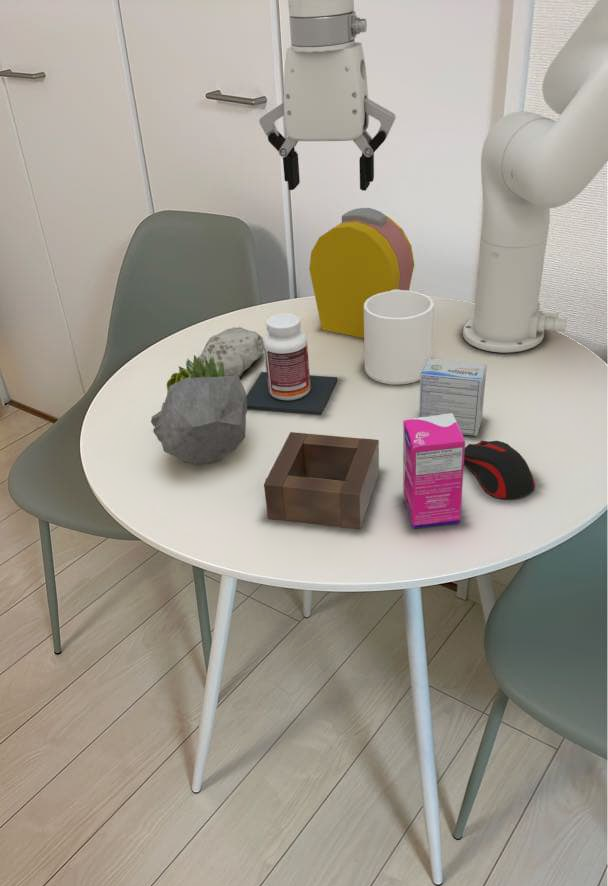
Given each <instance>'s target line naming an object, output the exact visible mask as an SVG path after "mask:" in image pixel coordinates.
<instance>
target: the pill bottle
mask: <svg viewBox="0 0 608 886" xmlns="http://www.w3.org/2000/svg"><path fill="white" fill-rule="evenodd" d="M301 327H302V324H301V318H300V317H299V316H298V315H296V314H293V313H279V314H274V315H272V316H269V317H268V318H267V320H266V331H267V334H266V335H265V337H264V338H263V344H264V350H263V354H264V360H265V372H267V380H268V389H269V393H270V394H271V395H272V396H273V397H274V398H276V399H279V400H286V401H291V400H296V399H299V398H302V397H304V396H305V395H307V394H308V392H309V391H310V361H309V350H308V349H309V348H308V347H309V345H308V338H307V335H306V334H305V333H304V332H303V331H302V330H301Z"/></svg>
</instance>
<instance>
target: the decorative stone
mask: <svg viewBox="0 0 608 886" xmlns="http://www.w3.org/2000/svg"><path fill="white" fill-rule="evenodd" d="M263 354H264V338H263V337H262V335H260V334H259V333H258V332H257V331H253V330H249V329H247V328H244V327H241V326H239V327H230V328H227V329H224V330H223V331H221V332H219V333H218V334H215V335H213V336H211V337H210V338H208V341H207V342H206V343H205V346H204V348H203V350H202V351H201V354H200V355H198V357H199V358H200V360H201V361H202V362H203V363H204V355H205V357H206V359H207V361H208V363H209V361H210V357H211V358H212V357H213V358H214V363H216V369H217V374H218V371H219V367H220V362H222V363H223V367H224V375H225V376H229V375H230V376H231V375H238V377H239V379H240V378H241V376H243V374H244V372H245V371H246V370H248V369H250V367H251V366H252V364H254V362H255V361H257V360H258V359H260V357H261V356H262V355H263Z"/></svg>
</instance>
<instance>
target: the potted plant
mask: <svg viewBox="0 0 608 886" xmlns="http://www.w3.org/2000/svg"><path fill="white" fill-rule="evenodd" d="M185 361H186V362H185V366H186V368H184V367H182V366H179V365H178V368H179V369H178V372H174V373H172V374H171V375H170V378H169V379H168V380H167V381H166V397H165V399H164V401H163V402H162V405H161V409H160V411H158V412H157V413H155V414H154V415H153V416H151V418H150V419H151V420H150V423H151V424H152V426H153V427H154V428H153V430H152V431H153V434H154V435H155V436H156V439H157V441H159V442H160V443H161V447H162V450H163V452H164V453H166V454H168V455H169V456H171V457H172V458H176V459H178V460H180V461H183V462H187V463H189V464H192V465H196V466H197V465H202V464H209V463H215V462H218V461H220V460H222V459H224V458H226V457H228V456H230V455H233V453H234V451H236V449H237V448H238V447H239V446H240V445H241V444H242V442H243V441H244V440H245V438H246V426H247V425H246V421H247V412H248V409H247V393H246V390H245V387H244V385H243V383H242V381H241V379H240V378H239V377H238V375H231V376H230V375H229V376H225V375H224V367H223V363H222V362H220V367H219V371H218V374H217V369H216V363H214V358H213V357H212V358H211V357H210V361H209V363H208V361H207V359H206V357H205V355H204V363H203V362H202V361H201V360H200V358H199V356H196V355H195V354H194V355H193V362H192V361H191V360H190V359H189V357H188V358H187V359H186V360H185Z"/></svg>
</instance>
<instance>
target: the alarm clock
mask: <svg viewBox="0 0 608 886" xmlns="http://www.w3.org/2000/svg"><path fill="white" fill-rule="evenodd" d="M309 259H310V260H309V275H310V280H311V284H312V289H313V293H314V298H315V303H316V308H317V312H318V317H319V318H318V319H319V322H320V326H321V331H326V332H330V333H335V334H336V333H337V334H342V335H346V336H351V337H356V338H361V339H364V303H365V301H366V300H367V299H368V298H370V297H372V296H373V295H376V294H379V293H383V292H387V291H391V290H395V289H397V290H406V291H410V287H411V283H412V279H413V273H414V270H415V269H414V268H415V260H414V252H413V246H412V244H411V242H410V240H409V238H408V236H407V235H406V233H405V231H404V229H403V228H402V227H401V226H400V225H398V224H397V223H396V222H395V221H394V220H393V219H392V218H390V217H389V216H388V215H386V214H384V213H383V212H382V211H380V210H377V209H375V208H371V207H360V208H354V209H351V210H348V211H347V212H345V213H344V214H342V215H341V222H340V223H338V224H337V225H336V226H334V227H332V228H331V229H329V230H328V231H327V232H325V233H324V234H322V235H321V236H319V237H318V239H317V240H316V242H315V244H314V246H313V248H312V250H311V251H310V258H309Z"/></svg>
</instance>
